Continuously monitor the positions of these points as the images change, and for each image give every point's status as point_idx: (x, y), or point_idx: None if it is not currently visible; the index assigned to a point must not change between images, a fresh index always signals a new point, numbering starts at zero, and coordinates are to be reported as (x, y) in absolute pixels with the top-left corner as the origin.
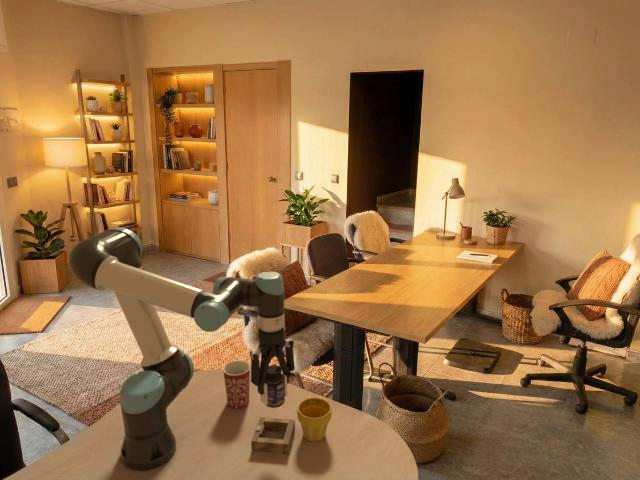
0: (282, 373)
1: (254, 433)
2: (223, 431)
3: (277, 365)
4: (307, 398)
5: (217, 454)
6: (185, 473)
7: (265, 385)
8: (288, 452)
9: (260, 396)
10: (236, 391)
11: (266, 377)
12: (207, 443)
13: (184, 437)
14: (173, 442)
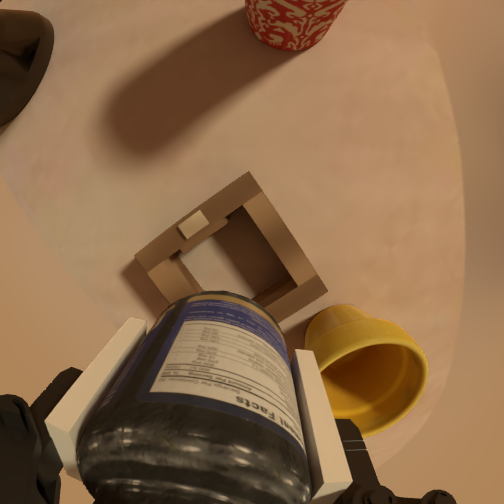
0: (333, 495)
1: (165, 233)
2: (146, 102)
3: None
4: (404, 343)
5: (77, 181)
6: (10, 186)
7: (76, 474)
8: None
9: (116, 332)
10: (258, 4)
11: (96, 496)
12: (85, 120)
13: (69, 61)
14: (12, 93)
